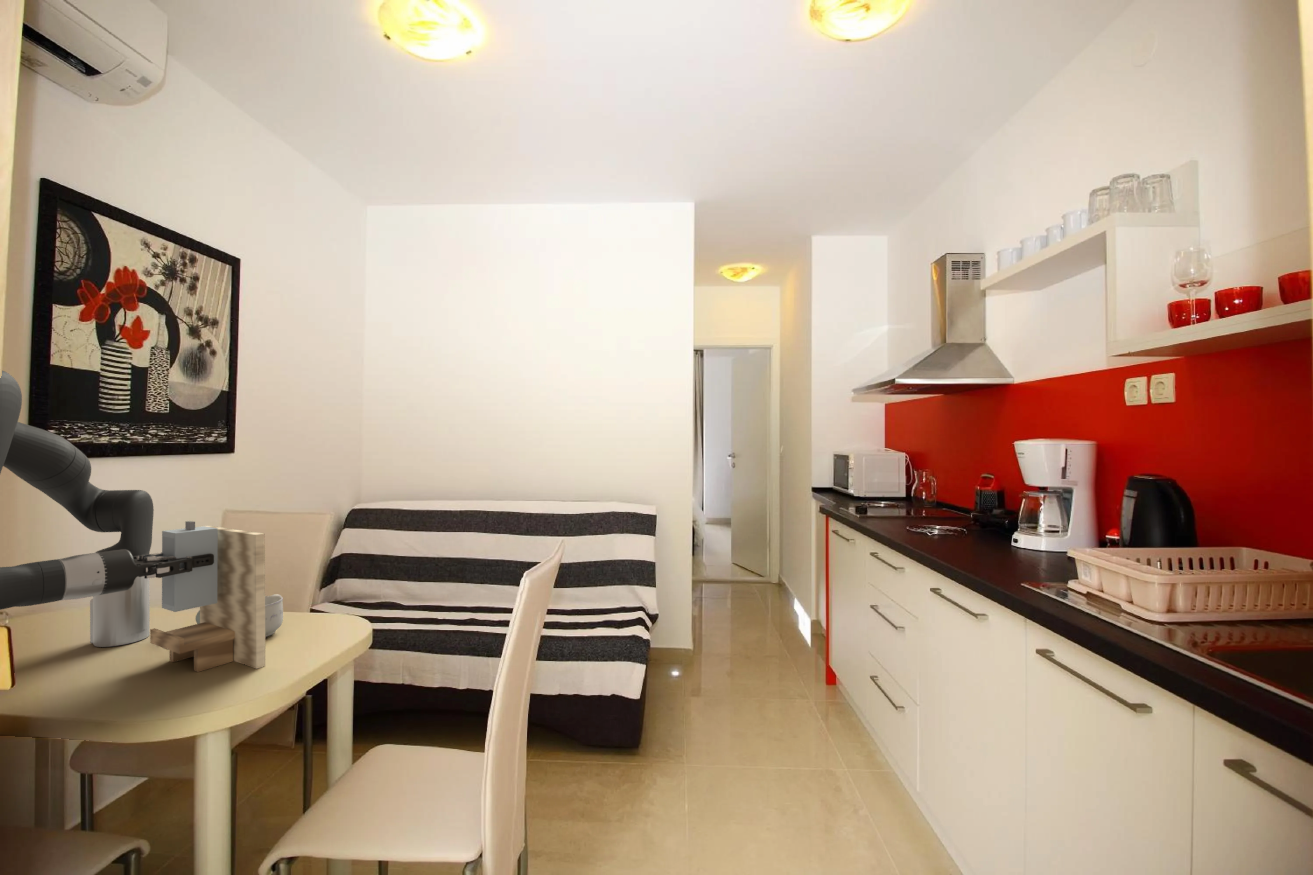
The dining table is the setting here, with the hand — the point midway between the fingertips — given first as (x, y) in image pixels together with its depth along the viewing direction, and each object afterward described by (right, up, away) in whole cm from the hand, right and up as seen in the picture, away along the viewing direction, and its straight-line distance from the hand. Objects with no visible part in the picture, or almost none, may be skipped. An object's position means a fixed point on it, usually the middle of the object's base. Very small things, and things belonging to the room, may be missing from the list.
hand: (205, 557), depth 117 cm
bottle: (-1, -9, -2) cm, 9 cm away
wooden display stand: (+2, -21, -3) cm, 21 cm away
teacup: (+1, -21, +15) cm, 26 cm away
